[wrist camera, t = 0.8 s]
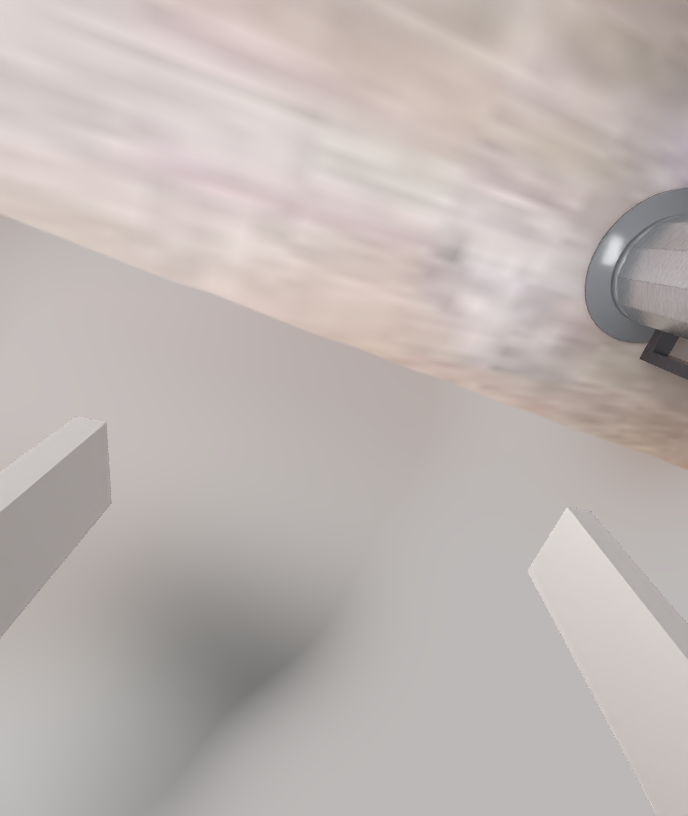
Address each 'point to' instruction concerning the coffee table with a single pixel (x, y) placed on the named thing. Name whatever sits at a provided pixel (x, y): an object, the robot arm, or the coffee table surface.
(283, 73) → the coffee table surface
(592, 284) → the coaster
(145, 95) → the coffee table surface
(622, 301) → the grey french press
